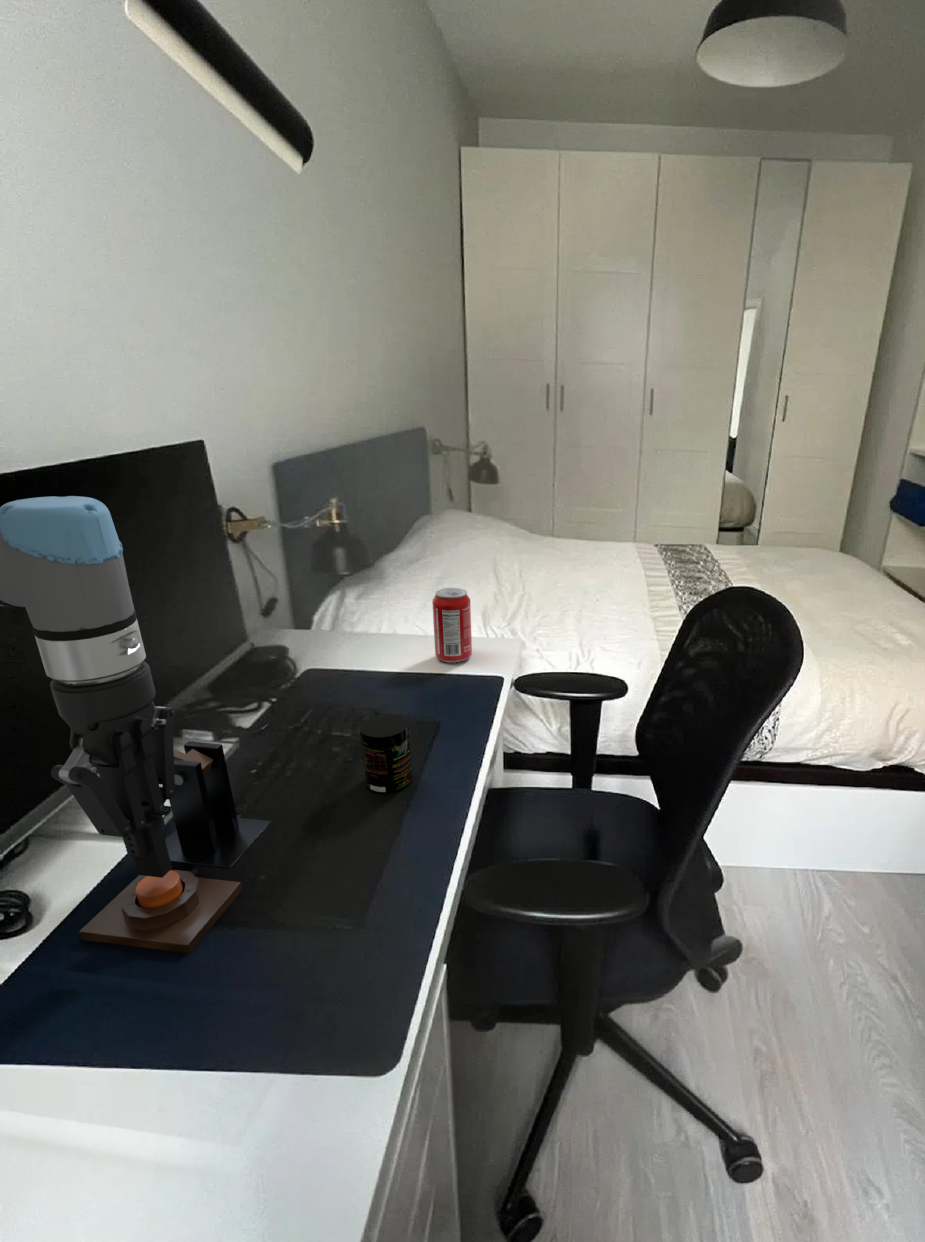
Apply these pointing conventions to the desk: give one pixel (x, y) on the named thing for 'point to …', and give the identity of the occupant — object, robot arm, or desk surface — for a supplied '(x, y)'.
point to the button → (159, 890)
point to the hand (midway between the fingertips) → (155, 871)
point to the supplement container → (386, 753)
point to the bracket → (208, 813)
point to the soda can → (452, 625)
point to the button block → (163, 916)
